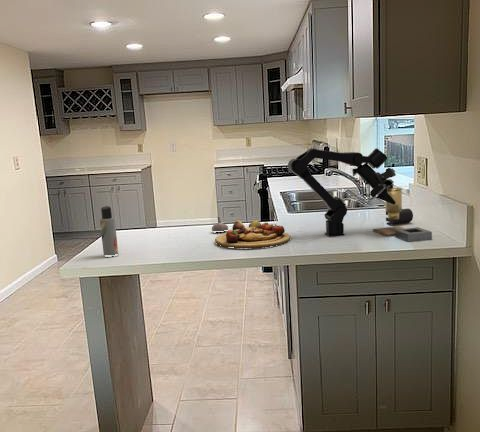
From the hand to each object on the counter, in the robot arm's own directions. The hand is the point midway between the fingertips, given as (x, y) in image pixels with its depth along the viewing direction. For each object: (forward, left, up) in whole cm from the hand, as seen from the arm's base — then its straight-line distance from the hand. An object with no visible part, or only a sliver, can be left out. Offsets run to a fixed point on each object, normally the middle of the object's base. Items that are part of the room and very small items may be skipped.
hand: (396, 202), depth 202 cm
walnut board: (-1, +2, -13) cm, 13 cm away
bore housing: (+1, -11, -13) cm, 17 cm away
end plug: (-1, +1, -7) cm, 7 cm away
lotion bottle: (-117, +13, -13) cm, 118 cm away
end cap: (+10, +17, -13) cm, 24 cm away
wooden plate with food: (-59, +14, -14) cm, 62 cm away
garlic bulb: (-69, +38, -13) cm, 80 cm away
